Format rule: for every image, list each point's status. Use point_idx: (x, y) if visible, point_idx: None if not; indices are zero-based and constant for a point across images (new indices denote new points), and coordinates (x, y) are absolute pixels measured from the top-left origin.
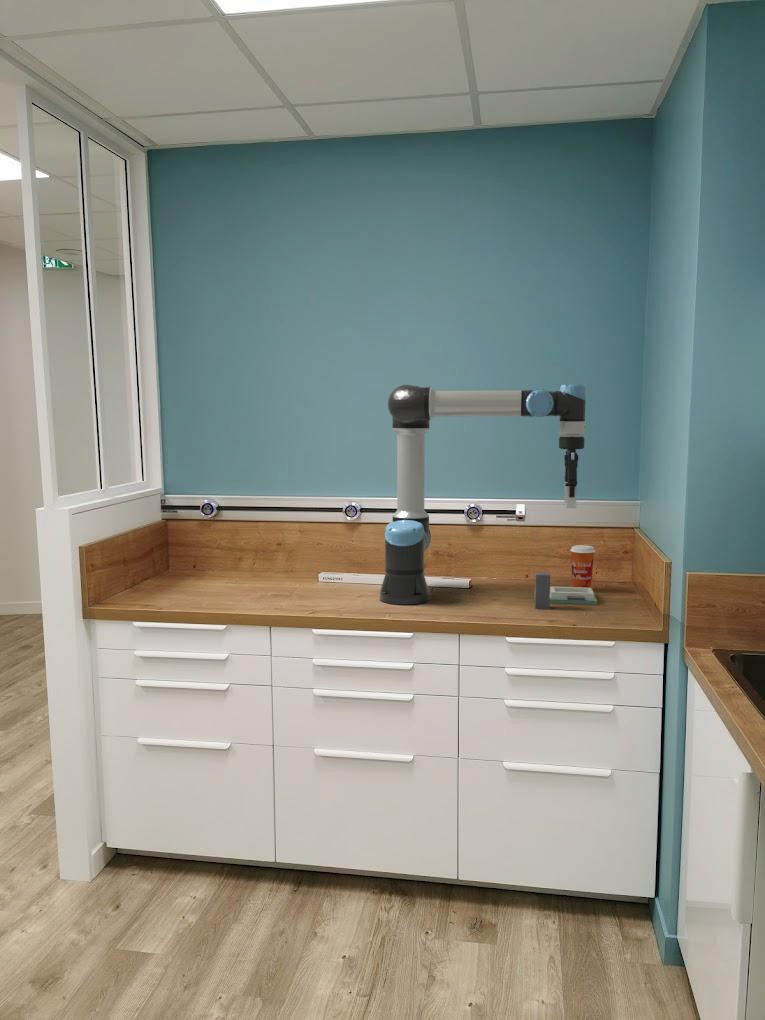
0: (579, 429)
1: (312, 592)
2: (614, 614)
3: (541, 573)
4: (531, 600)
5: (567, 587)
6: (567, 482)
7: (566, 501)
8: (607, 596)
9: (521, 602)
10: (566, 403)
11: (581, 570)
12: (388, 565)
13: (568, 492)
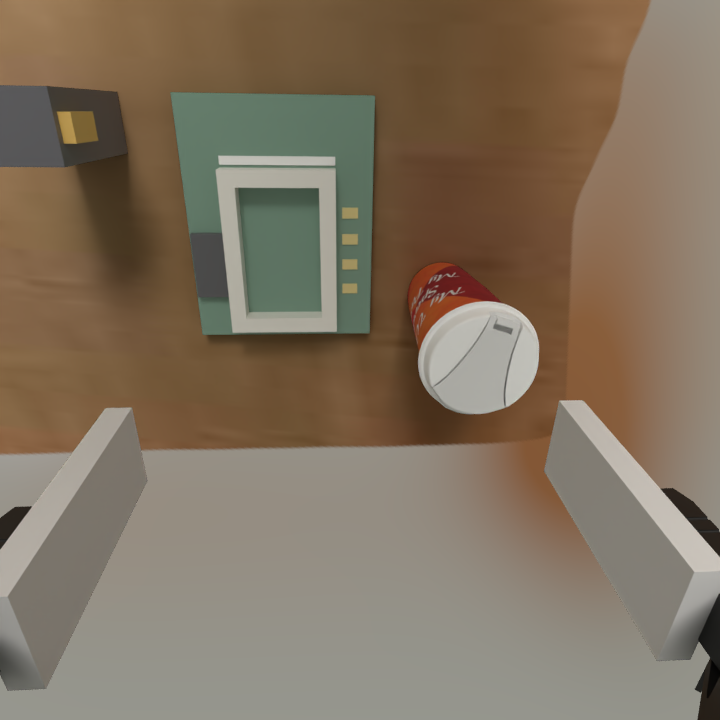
0: None
1: None
2: (85, 370)
3: (24, 119)
4: (214, 77)
5: (326, 243)
6: (709, 598)
7: (563, 427)
8: (346, 370)
9: (162, 26)
10: None
11: (415, 319)
12: None
13: (22, 538)
